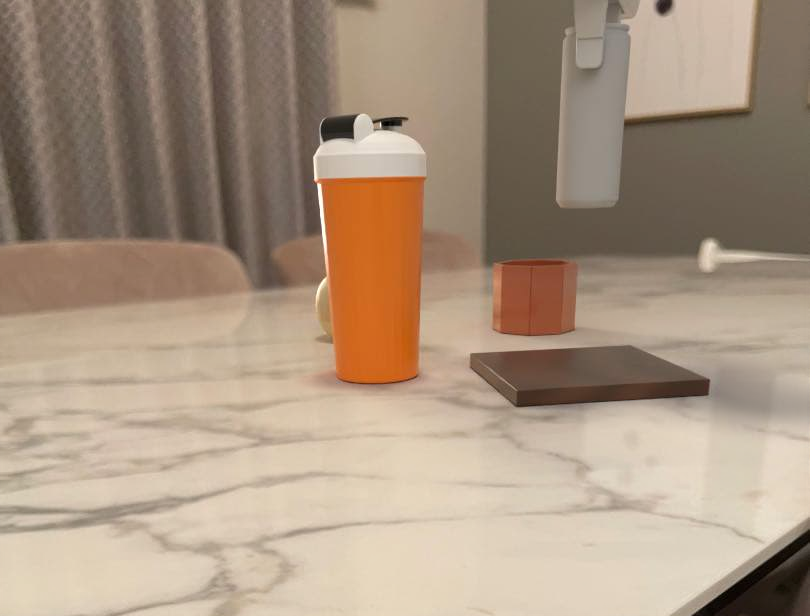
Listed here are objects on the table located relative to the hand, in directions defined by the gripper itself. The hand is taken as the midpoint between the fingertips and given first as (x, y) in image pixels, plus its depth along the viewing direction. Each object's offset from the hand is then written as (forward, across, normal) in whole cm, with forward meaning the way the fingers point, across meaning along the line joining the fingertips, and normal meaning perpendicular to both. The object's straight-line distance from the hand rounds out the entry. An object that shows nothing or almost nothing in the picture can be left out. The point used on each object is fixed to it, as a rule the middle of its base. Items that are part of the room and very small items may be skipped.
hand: (595, 74), depth 62 cm
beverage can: (+9, 0, 0) cm, 9 cm away
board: (+22, -1, 0) cm, 22 cm away
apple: (+22, +14, +26) cm, 37 cm away
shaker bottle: (+22, -3, +17) cm, 28 cm away
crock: (+22, +24, +8) cm, 34 cm away
